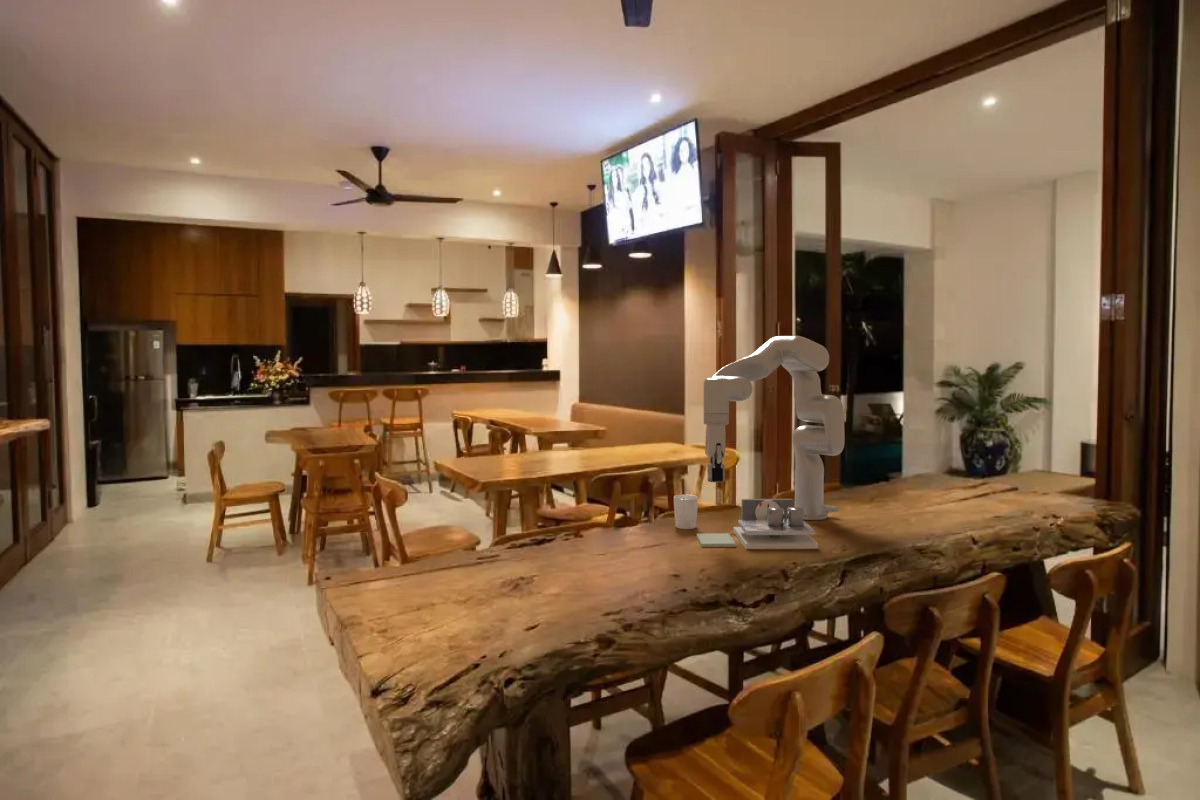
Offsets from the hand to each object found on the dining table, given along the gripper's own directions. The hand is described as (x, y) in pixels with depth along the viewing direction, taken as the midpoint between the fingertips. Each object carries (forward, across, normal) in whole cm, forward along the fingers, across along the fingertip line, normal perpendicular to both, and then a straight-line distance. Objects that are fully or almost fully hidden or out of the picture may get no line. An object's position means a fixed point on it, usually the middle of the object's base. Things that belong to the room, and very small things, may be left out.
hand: (715, 478), depth 226 cm
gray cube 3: (+1, 0, 0) cm, 1 cm away
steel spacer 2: (+14, 0, +24) cm, 28 cm away
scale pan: (+15, 0, +18) cm, 24 cm away
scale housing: (+19, -2, +18) cm, 26 cm away
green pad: (+19, 0, 0) cm, 19 cm away
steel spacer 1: (+14, 0, +18) cm, 23 cm away
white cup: (+19, -19, -7) cm, 28 cm away
